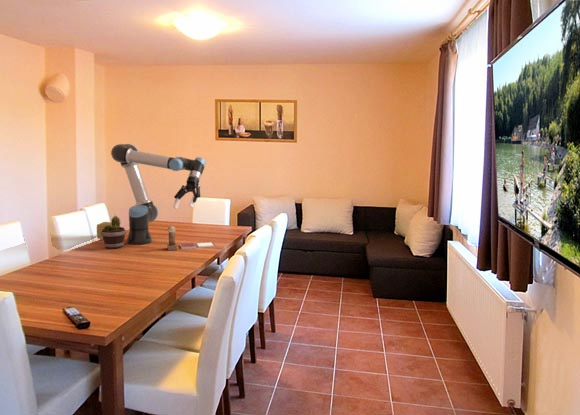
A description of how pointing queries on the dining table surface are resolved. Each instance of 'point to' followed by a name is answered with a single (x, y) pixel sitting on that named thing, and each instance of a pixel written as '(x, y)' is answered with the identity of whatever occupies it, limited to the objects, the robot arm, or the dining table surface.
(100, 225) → the cheese
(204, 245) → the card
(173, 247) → the stamp
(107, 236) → the flowerpot
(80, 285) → the dining table surface
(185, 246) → the ink pad
